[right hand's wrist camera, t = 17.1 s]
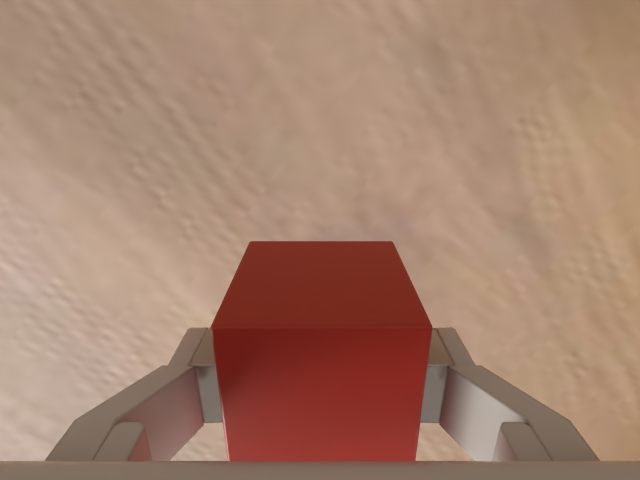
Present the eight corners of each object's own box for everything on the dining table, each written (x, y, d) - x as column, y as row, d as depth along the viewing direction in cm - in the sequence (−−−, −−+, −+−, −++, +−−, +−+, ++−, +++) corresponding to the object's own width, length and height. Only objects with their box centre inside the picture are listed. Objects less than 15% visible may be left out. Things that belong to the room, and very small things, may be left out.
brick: (383, 372, 13) (411, 500, 9) (259, 372, 13) (231, 499, 9) (393, 240, 11) (434, 326, 7) (249, 240, 11) (209, 326, 7)
